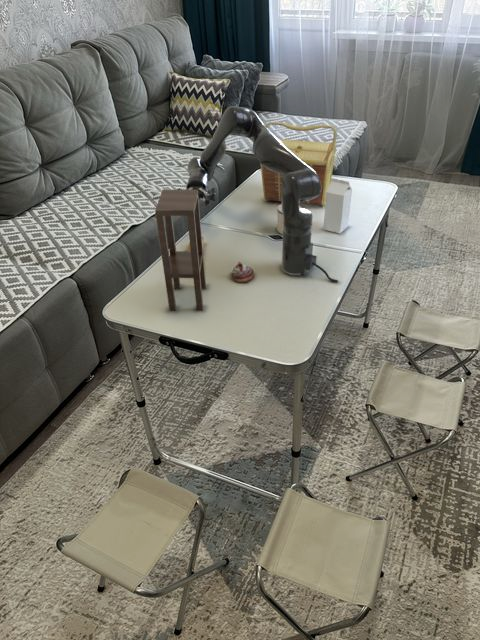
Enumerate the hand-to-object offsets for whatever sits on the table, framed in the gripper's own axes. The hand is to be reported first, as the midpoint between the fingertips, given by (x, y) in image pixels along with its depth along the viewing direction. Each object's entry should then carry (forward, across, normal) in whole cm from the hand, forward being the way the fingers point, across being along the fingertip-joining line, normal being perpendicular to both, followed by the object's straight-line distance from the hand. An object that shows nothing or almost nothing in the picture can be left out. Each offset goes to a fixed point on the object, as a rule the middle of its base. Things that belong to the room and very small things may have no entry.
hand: (194, 203), depth 177 cm
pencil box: (+12, 0, +15) cm, 19 cm away
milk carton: (-11, +52, +16) cm, 56 cm away
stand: (+36, 0, +16) cm, 39 cm away
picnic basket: (-41, +40, +16) cm, 59 cm away
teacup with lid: (-11, +35, +16) cm, 39 cm away
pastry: (+24, +17, +16) cm, 33 cm away
